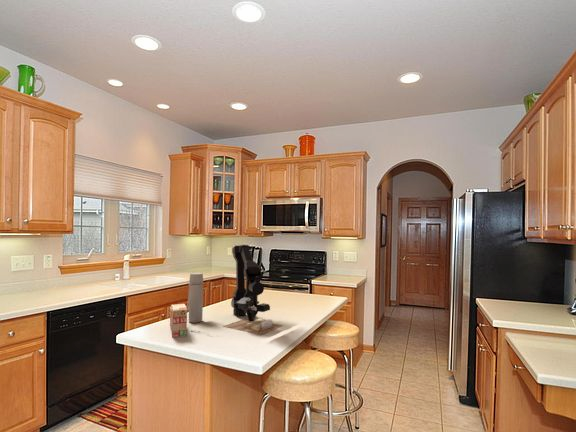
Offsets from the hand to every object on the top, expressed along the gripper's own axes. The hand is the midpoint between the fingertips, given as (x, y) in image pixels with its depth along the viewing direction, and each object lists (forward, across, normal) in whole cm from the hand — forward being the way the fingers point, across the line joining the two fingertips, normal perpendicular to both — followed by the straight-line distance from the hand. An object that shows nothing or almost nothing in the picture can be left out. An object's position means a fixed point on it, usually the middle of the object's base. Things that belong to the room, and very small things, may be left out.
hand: (251, 323), depth 166 cm
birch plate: (+1, +5, 0) cm, 5 cm away
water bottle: (+3, -34, -6) cm, 34 cm away
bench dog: (+1, +9, 0) cm, 9 cm away
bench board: (+3, +1, 0) cm, 3 cm away
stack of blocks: (+3, -27, -22) cm, 35 cm away
